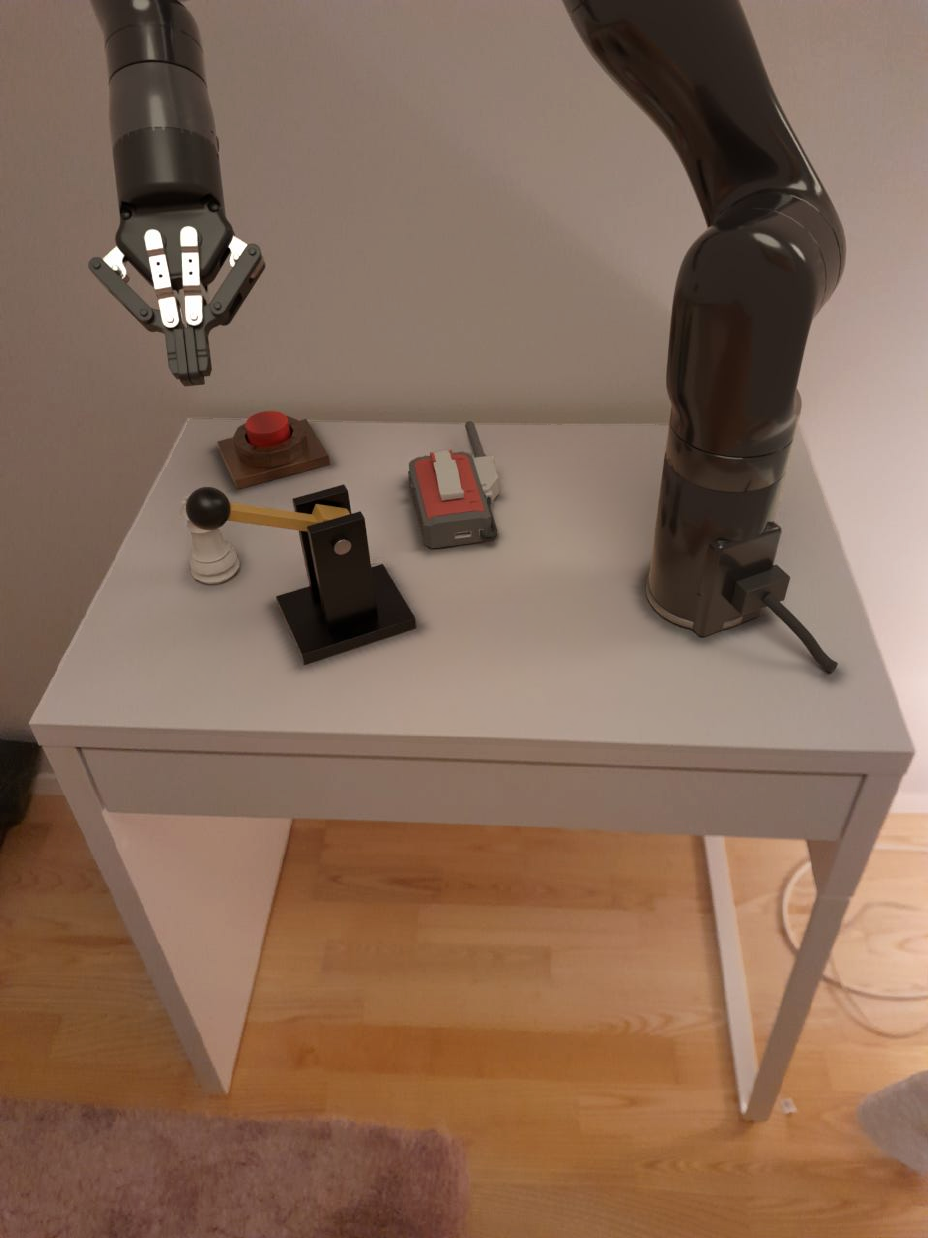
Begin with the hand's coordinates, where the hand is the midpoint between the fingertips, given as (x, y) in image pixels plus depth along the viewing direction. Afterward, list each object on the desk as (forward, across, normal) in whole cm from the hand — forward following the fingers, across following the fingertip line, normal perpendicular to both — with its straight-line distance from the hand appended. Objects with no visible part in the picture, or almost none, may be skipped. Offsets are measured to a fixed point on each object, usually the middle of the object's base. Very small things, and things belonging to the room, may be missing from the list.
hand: (192, 382), depth 69 cm
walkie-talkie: (+6, +20, +25) cm, 32 cm away
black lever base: (+18, +8, +13) cm, 24 cm away
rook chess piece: (+12, -3, +19) cm, 23 cm away
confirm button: (-3, +2, +29) cm, 30 cm away
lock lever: (+11, +3, +4) cm, 12 cm away
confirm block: (-1, +2, +31) cm, 31 cm away
